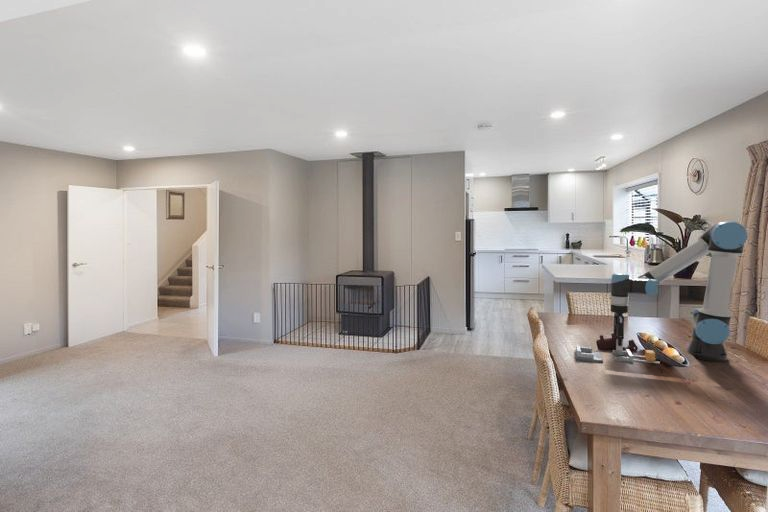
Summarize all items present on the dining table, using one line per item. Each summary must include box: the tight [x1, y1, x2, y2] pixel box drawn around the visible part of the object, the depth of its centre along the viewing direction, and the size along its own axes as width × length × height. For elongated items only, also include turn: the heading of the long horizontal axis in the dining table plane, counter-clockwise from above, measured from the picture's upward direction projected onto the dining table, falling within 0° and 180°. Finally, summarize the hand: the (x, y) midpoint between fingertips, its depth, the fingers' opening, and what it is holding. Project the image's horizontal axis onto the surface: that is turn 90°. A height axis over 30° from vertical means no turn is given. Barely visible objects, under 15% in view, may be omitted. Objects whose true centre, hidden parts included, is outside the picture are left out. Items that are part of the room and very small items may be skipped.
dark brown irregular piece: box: [595, 331, 639, 352], centre depth 205 cm, size 6×17×10 cm, turn 79°
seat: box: [574, 344, 661, 365], centre depth 193 cm, size 34×13×4 cm, turn 68°
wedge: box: [644, 349, 656, 361], centre depth 187 cm, size 3×5×4 cm, turn 158°
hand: (617, 349), depth 205 cm, fingers closed on dark brown irregular piece, 8 cm apart
